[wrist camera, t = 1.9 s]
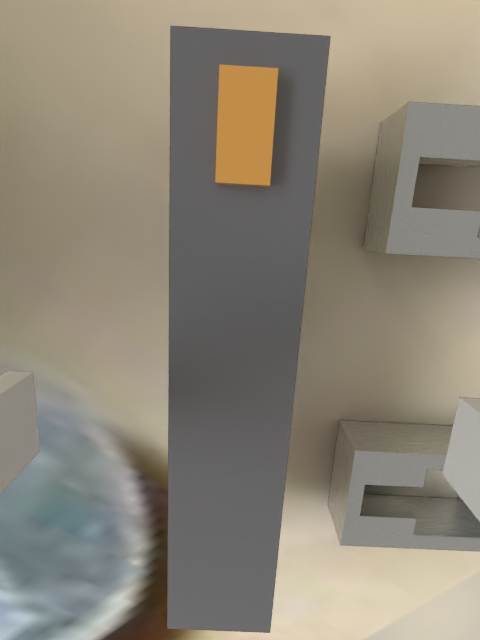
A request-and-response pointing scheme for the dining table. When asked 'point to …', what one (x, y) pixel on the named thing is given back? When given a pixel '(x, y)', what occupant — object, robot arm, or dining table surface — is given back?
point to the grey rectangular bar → (235, 308)
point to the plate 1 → (395, 470)
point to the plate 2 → (400, 177)
